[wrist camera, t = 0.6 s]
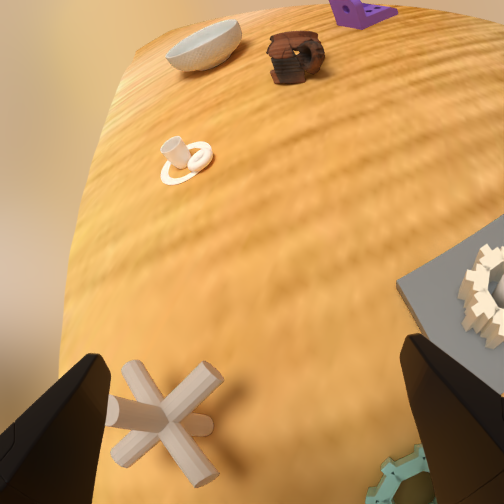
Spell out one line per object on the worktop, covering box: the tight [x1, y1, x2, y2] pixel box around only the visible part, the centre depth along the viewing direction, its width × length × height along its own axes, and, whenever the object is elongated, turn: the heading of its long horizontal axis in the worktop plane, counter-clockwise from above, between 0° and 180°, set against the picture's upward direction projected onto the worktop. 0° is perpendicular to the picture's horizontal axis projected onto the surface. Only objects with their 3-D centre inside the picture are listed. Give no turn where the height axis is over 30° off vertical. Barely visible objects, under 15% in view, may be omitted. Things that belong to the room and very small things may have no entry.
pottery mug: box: [266, 31, 325, 84], centre depth 41 cm, size 12×10×8 cm
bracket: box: [329, 0, 398, 30], centre depth 45 cm, size 12×7×7 cm, turn 121°
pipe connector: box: [105, 360, 224, 488], centre depth 18 cm, size 10×10×10 cm
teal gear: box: [365, 444, 437, 504], centre depth 12 cm, size 6×6×3 cm
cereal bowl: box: [166, 19, 242, 71], centre depth 57 cm, size 17×17×7 cm
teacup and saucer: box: [160, 136, 213, 185], centre depth 39 cm, size 9×8×4 cm
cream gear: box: [457, 244, 504, 349], centre depth 15 cm, size 6×6×3 cm
